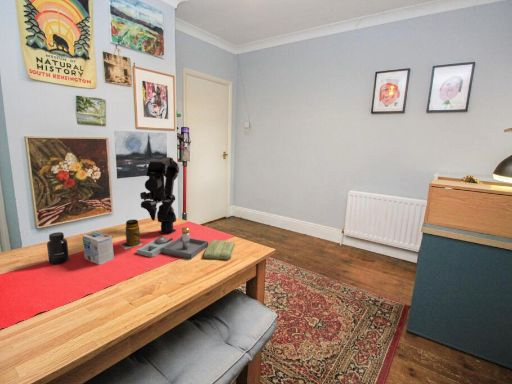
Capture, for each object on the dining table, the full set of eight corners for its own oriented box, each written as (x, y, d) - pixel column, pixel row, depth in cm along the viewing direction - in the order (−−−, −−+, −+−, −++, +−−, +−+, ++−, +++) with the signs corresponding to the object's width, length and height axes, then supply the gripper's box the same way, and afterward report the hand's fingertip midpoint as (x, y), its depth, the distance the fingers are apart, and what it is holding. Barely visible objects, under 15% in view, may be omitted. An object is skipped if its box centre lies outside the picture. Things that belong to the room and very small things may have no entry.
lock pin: (185, 246, 129) (184, 226, 127) (191, 247, 128) (190, 227, 126) (180, 248, 126) (180, 228, 124) (187, 250, 125) (186, 230, 123)
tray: (181, 240, 137) (181, 236, 136) (207, 246, 132) (207, 241, 131) (162, 252, 123) (162, 247, 122) (190, 259, 118) (190, 253, 117)
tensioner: (159, 240, 136) (159, 234, 135) (174, 243, 133) (174, 237, 132) (136, 253, 121) (136, 246, 120) (152, 257, 118) (152, 250, 117)
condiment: (143, 244, 131) (141, 221, 128) (124, 249, 125) (123, 225, 122) (137, 240, 136) (136, 217, 133) (119, 244, 130) (117, 221, 127)
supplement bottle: (58, 266, 108) (55, 238, 105) (44, 263, 109) (40, 236, 106) (73, 258, 114) (70, 232, 112) (60, 256, 116) (56, 230, 113)
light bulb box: (84, 258, 114) (81, 235, 112) (99, 253, 120) (97, 230, 118) (99, 265, 110) (97, 240, 107) (114, 258, 115) (112, 235, 113)
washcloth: (235, 245, 135) (235, 239, 135) (230, 261, 118) (230, 254, 117) (210, 243, 136) (210, 237, 135) (201, 259, 119) (201, 253, 118)
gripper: (157, 182, 141) (158, 210, 144) (130, 188, 123) (132, 220, 127) (175, 184, 137) (176, 213, 140) (150, 191, 120) (151, 224, 123)
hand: (159, 217), depth 133 cm, fingers open, 9 cm apart
